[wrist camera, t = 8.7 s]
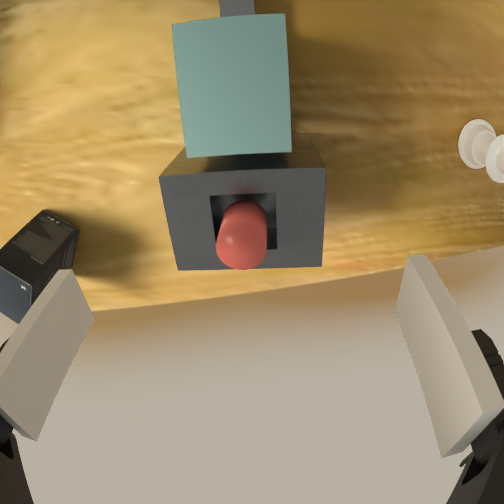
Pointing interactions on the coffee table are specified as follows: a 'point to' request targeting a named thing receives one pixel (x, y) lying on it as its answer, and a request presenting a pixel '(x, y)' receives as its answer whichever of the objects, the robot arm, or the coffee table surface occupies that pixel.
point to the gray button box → (254, 189)
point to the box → (34, 261)
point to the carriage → (233, 85)
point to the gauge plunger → (242, 235)
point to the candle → (482, 148)
